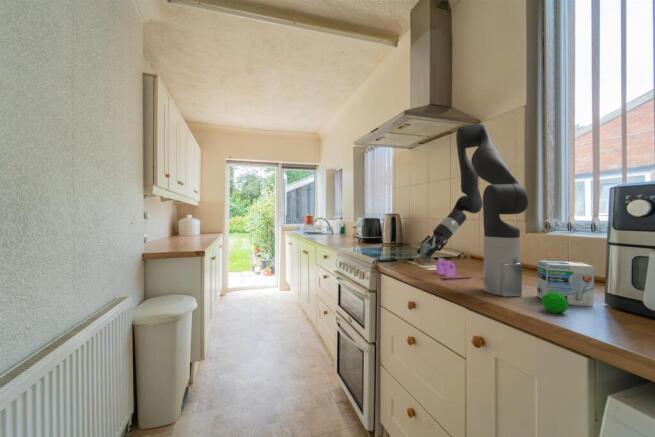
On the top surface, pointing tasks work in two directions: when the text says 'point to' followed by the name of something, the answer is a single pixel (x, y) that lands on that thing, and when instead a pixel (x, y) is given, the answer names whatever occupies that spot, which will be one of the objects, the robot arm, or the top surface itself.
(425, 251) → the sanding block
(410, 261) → the board
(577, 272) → the light bulb box
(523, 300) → the top surface
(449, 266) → the bracket
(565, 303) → the green lime
